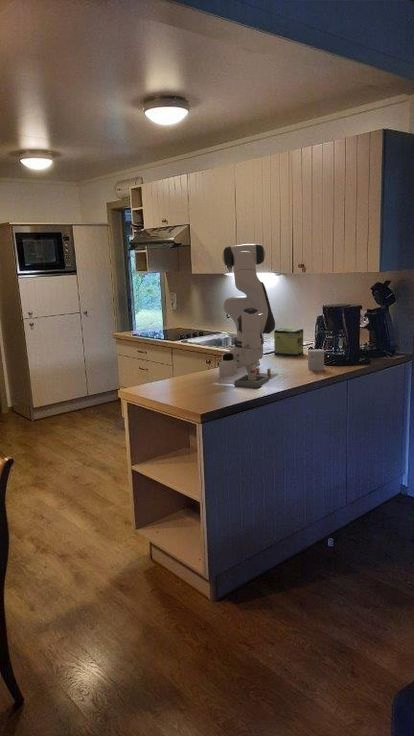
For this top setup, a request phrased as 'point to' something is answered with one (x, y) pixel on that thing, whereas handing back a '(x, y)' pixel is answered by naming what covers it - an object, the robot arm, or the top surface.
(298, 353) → the protein box
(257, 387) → the tray
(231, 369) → the medicine bottle
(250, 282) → the robot arm
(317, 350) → the small box
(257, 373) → the clip holder
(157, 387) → the top surface
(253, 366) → the fuse
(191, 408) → the top surface
